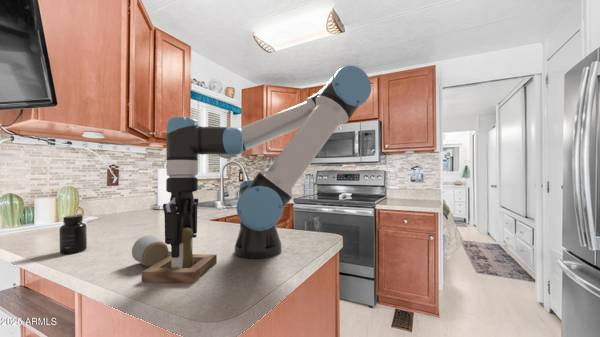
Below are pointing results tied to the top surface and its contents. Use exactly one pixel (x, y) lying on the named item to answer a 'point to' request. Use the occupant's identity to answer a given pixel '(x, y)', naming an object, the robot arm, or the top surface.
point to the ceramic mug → (150, 250)
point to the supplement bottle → (73, 235)
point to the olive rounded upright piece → (187, 248)
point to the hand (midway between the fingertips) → (182, 265)
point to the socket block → (179, 270)
